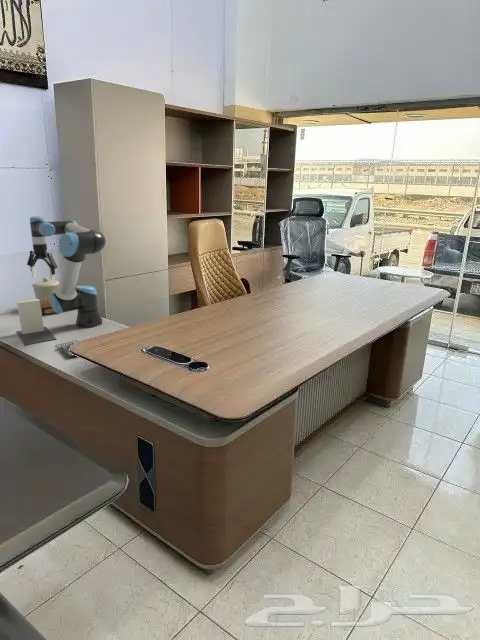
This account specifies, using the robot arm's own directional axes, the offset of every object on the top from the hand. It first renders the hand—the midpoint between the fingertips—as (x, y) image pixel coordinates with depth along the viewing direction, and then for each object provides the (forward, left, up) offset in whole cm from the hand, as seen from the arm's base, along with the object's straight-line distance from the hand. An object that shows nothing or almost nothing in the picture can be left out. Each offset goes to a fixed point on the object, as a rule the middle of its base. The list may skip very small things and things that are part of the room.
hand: (43, 278), depth 265 cm
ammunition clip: (+8, -9, -26) cm, 29 cm away
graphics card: (-55, +36, -27) cm, 71 cm away
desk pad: (-18, +26, -26) cm, 41 cm away
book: (-12, +22, -25) cm, 36 cm away
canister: (+22, -20, -26) cm, 40 cm away
